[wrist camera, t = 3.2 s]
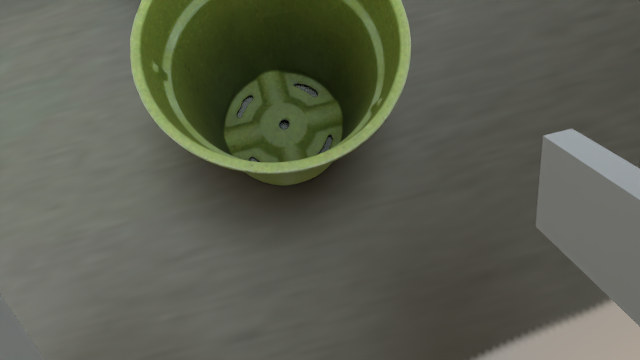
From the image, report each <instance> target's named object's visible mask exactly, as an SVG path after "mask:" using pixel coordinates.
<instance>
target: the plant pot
mask: <svg viewBox="0 0 640 360" xmlns="http://www.w3.org/2000/svg"><path fill="white" fill-rule="evenodd" d="M410 57H411V37H410V29H409V23H408V19H407V16H406V12H405V9H404V7H403V4H402V2H401V0H142V1H141V3H140V6H139V9H138V12H137V13H136V16H135V19H134V23H133V27H132V32H131V37H130V59H131V67H132V74H133V78H134V83H135V86H136V88H137V91H138V94H139V96H140V98H141V100H142V102H143V104H144V106H145V108H146V110H147V111H148V112H149V114H150V116H151V117H152V118H153V120H154V121H155V122H156V123H157V124H158V126H159V127H160V128H161V129H162V130H163V131H164V132H165V133H166V134H167V135H168V136H169V137H170V138H171V139H173V140H174V141H175V142H176V143H178V144H179V145H180V146H182V147H183V148H184V149H186V150H187V151H189V152H190V153H192V154H194V155H195V156H197V157H199V158H201V159H203V160H205V161H208V162H210V163H213V164H215V165H218V166H221V167H224V168H227V169H231V170H236V171H241V172H245V173H246V174H248V175H250V176H251V177H253V178H255V179H257V180H259V181H262V182H265V183H269V184H273V185H292V184H297V183H301V182H304V181H307V180H309V179H312V178H314V177H316V176H318V175H319V174H321V173H322V172H323V171H324V170H326V169H327V168H328V167H329V166H330V164H331V163H332V162H334V161H336V160H338V159H340V158H342V157H344V156H345V155H347V154H349V153H350V152H352V151H354V150H355V149H357V148H358V147H359V146H361V145H362V144H363V143H364V142H366V141H367V140H368V139H369V138H370V137H371V136H372V135H373V134H374V133H375V132H376V131H377V130H378V129H379V128H380V127H381V126H382V125H383V123H384V122H385V120H386V119H387V118H388V116H389V115H390V113H391V112H392V110H393V109H394V107H395V105H396V103H397V101H398V99H399V97H400V95H401V93H402V90H403V88H404V85H405V82H406V79H407V75H408V71H409V65H410ZM294 84H303V85H307V86H309V87H311V88H313V89H314V90H315V91H316V92H317V93H318V96H317V97H312V96H311V95H310V94H308V93H307V92H305V91H303V90H302V89H299V88H298V87H295V86H294ZM247 96H253V100H252V101H251V102H250V104H249V105H248V106H247V108H246V110H245V111H244V113H243V116H242V117H241V118H238V116H237V112H238V110H239V108H240V107H241V104H242V102H243V100H244V99H245V98H246V97H247ZM282 120H287V121H289V126H288V128H286V129H282V128H280V126H279V124H280V122H281V121H282ZM328 135H331V136H332V138H333V141H332V144H331V146H330V148H329V150H327V151H325V152H323V153H321V154H319V152H320V151H321V149H322V147H323V146H324V144H325V142H326V140H327V137H328ZM251 157H254V158H255V159H257V160H258V161H260V162H254V161H250V160H249V159H250V158H251Z"/></svg>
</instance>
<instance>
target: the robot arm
mask: <svg viewBox="0 0 640 360" xmlns="http://www.w3.org/2000/svg"><path fill="white" fill-rule="evenodd" d="M536 227H537V228H538V229H539V230H540V231H541V232H542V233H543V234H544V235H545V236H546V237H547V238H548V239H549V240H550V241H551V242H552V243H553V244H554V245H555V246H557V247H558V248H559V249H560V250H561V251H562V252H563V253H564V254H565V255H566V256H567V257H568V258H569V259H570V260H571V261H572V262H573V263H574V264H575V265H576V266H577V267H578V268H580V269H581V270H582V271H583V272H584V273H585V274H586V275H587V276H588V277H589V278H590V279H591V280H592V281H593V282H594V283H595V284H596V285H597V286H598V287H599V288H600V289H601V290H602V291H604V292H605V293H606V294H607V295H608V296H609V297H610V298H611V299H612V300H613V301H614V302H615V303H616V304H617V305H618V306H619V307H620V308H621V309H622V310H623V311H624V312H625V313H627V314H628V315H629V316H630V317H631V318H632V319H633V320H634V321H635V322H636V323H637V324H638V325H639V326H640V168H638V167H636V166H634V165H633V164H631V163H629V162H628V161H626V160H624V159H623V158H621V157H619V156H618V155H616V154H614V153H612V152H611V151H609V150H607V149H606V148H604V147H602V146H601V145H599V144H597V143H596V142H594V141H592V140H590V139H589V138H587V137H585V136H584V135H582V134H580V133H579V132H577V131H575V130H574V129H568V130H564V131H560V132H556V133H552V134H548V135H544V136H543V143H542V155H541V167H540V179H539V191H538V203H537V215H536ZM42 358H43V356H42V355H41V353H40V352H39V350H38V349H37V347H36V346H35V344H34V343H33V341H32V340H31V338H30V337H29V335H28V334H27V333H26V331H25V330H24V328H23V327H22V325H21V324H20V322H19V321H18V319H17V318H16V316H15V315H14V313H13V312H12V310H11V309H10V307H9V306H8V304H7V303H6V302H5V300H4V299H3V297H2V296H1V294H0V360H42Z"/></svg>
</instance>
